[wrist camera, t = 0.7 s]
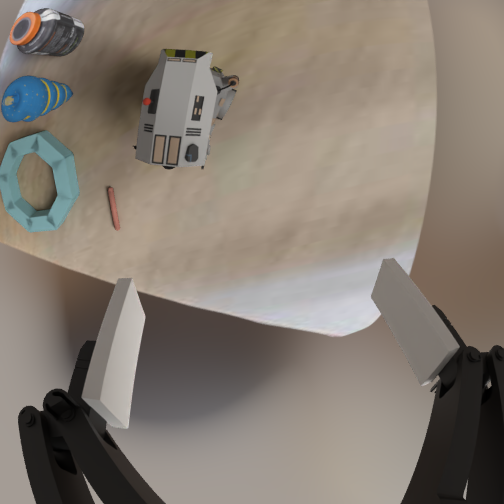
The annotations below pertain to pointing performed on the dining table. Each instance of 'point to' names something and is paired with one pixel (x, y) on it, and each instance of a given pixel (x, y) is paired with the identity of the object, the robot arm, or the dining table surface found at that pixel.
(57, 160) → the teal octagonal ring
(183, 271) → the dining table surface
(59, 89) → the ornament
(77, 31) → the pill bottle
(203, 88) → the figurine
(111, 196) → the reddish pink rod
